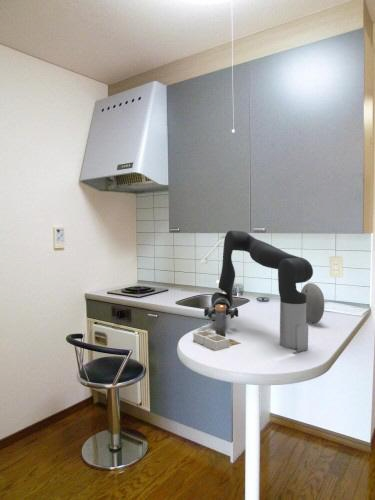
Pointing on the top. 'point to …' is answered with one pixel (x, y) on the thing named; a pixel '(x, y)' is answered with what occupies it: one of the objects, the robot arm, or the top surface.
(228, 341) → the brass-tag socket
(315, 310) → the grey round disc
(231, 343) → the board
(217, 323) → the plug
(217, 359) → the top surface
